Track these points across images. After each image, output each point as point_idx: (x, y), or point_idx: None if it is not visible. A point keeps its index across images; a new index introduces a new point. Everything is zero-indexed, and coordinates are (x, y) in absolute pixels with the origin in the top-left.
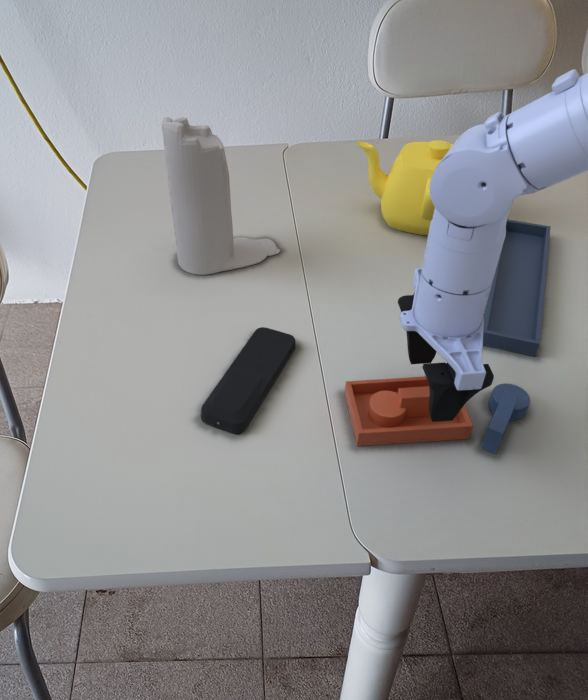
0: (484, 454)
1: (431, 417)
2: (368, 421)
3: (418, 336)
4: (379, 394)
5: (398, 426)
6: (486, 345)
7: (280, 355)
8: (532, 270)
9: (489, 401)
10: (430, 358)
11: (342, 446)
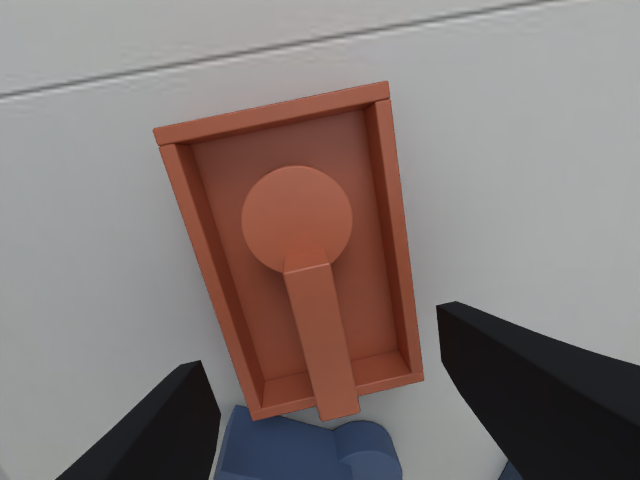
0: (221, 409)
1: (168, 375)
2: (262, 165)
3: (540, 411)
4: (333, 197)
5: None
6: None
7: None
8: None
9: (363, 427)
10: (451, 373)
11: (166, 90)
